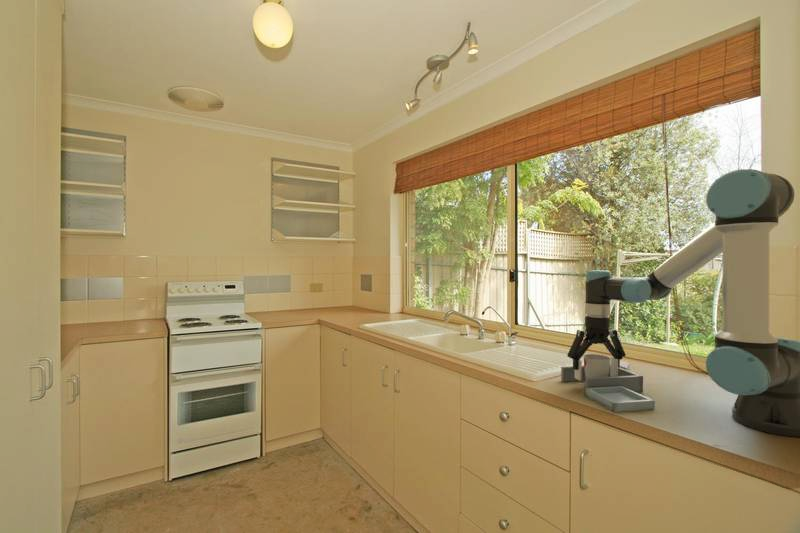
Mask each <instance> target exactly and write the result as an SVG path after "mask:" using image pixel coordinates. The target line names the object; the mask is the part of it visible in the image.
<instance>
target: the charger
mask: <svg viewBox="0 0 800 533" xmlns="http://www.w3.org/2000/svg"><path fill="white" fill-rule="evenodd" d="M610 363H611V358H610ZM630 365H631V364H630V363H629V362H628V361H624V360H620V368H623V369H625V370H628V371H630Z"/></svg>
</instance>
